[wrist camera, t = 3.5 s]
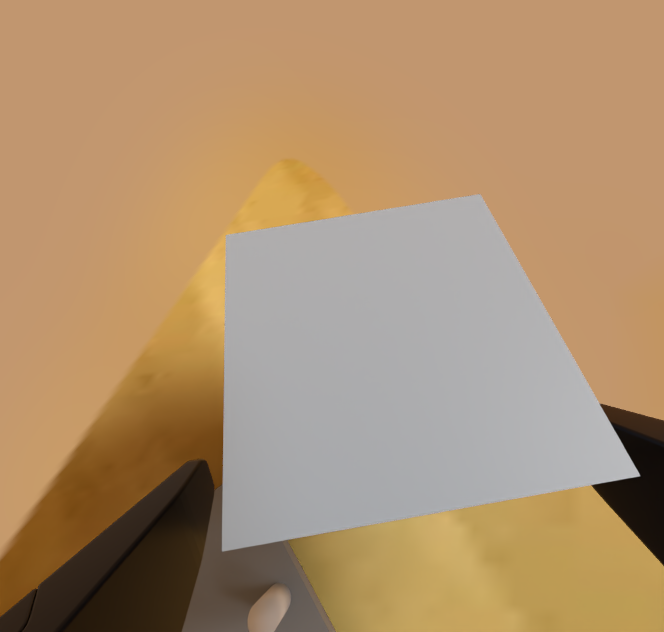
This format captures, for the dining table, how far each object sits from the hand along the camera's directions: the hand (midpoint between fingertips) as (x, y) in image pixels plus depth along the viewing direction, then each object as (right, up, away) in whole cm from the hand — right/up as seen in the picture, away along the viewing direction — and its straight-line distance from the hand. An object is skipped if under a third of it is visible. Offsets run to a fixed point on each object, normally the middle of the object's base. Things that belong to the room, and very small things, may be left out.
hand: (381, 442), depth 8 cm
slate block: (0, -3, +8) cm, 9 cm away
